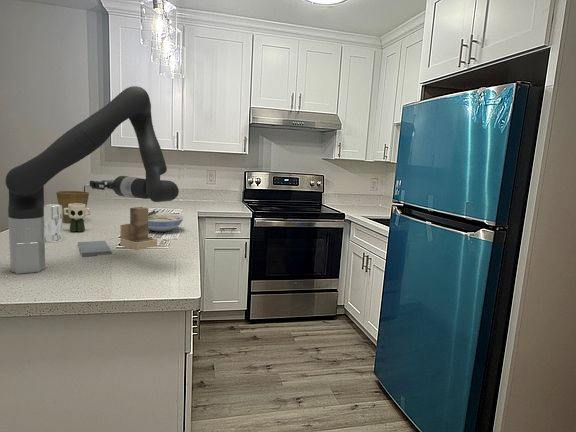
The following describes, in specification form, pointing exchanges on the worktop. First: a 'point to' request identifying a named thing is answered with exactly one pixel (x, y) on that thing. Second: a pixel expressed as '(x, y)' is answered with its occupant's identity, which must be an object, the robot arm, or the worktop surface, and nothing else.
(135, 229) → the walnut block
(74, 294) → the worktop surface
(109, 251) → the blue-grey flat slab
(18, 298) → the worktop surface
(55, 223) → the beer glass
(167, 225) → the ramen bowl
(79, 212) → the character mug
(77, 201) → the plant pot
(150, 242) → the carton
